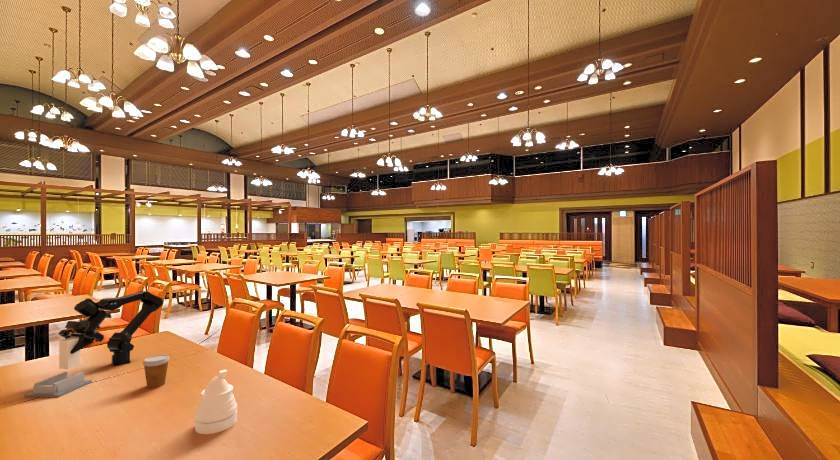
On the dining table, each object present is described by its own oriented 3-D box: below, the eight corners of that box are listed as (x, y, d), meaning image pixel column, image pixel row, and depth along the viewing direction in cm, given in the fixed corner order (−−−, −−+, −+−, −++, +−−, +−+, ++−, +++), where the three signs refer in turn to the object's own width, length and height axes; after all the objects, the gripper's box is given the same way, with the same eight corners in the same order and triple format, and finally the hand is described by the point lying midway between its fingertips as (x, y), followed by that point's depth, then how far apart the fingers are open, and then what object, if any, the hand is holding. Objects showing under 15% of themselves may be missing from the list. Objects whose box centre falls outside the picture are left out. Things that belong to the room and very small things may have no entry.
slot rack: (61, 382, 154) (61, 371, 154) (91, 382, 154) (92, 371, 154) (24, 396, 140) (25, 384, 140) (58, 397, 140) (59, 384, 140)
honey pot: (228, 410, 130) (229, 363, 130) (243, 422, 122) (243, 371, 122) (189, 424, 120) (190, 373, 120) (202, 438, 112) (203, 383, 112)
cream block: (72, 364, 157) (72, 337, 157) (80, 364, 156) (80, 337, 156) (59, 368, 152) (59, 340, 152) (67, 369, 151) (67, 341, 151)
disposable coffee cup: (174, 380, 156) (175, 354, 156) (156, 390, 146) (157, 362, 146) (155, 379, 157) (155, 353, 157) (136, 389, 147) (136, 361, 147)
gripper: (63, 312, 159) (33, 343, 148) (97, 313, 156) (69, 345, 146) (82, 324, 167) (55, 355, 156) (114, 325, 164) (89, 357, 153)
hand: (66, 353), depth 153 cm, fingers closed on cream block, 4 cm apart
